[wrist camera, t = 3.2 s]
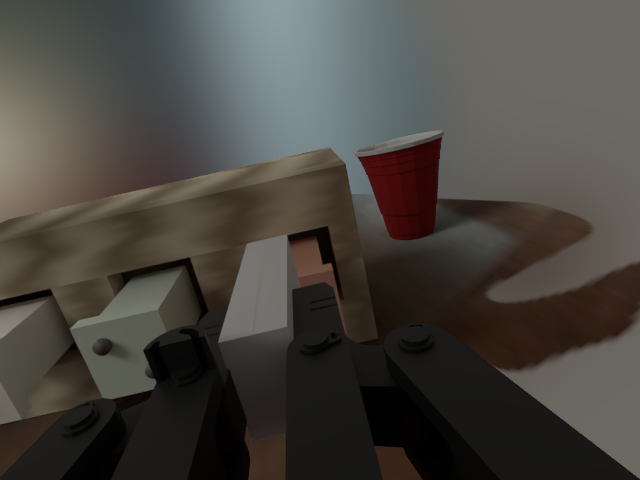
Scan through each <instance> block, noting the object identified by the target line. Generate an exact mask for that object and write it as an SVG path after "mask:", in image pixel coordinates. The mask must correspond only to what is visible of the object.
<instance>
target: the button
mask: <svg viewBox="0 0 640 480" xmlns="http://www.w3.org/2000/svg"><path fill="white" fill-rule="evenodd" d="M74 341H75V340H74V338H73V336H72V333H71V331H70V327H69V325H68V323H67V321H66V319H65V317H64V315H63V313H62V311H61V309H60V307H59V305H58V303H57V301H56V299H55V297H54V295H50V296H46V297H41V298H37V299H33V300H28V301H24V302H19V303H15V304H11V305H6V306H2V307H0V424H3V423H8V422H12V421H17V420H21V419H23V417H24V416H25V415H26V414H27V413H28V411H29V410H30V409H31V408H32V407H31V405H30V403H29V401H28V400H27V398H26V396H27V395H28V393H29V392H30V391H31V390H32V389H33V388H34V387H35V386H36V384H37V383H38V382H39V381H40V380H41V379H42V378H43V376H44V375H45V374H46V373H47V372H48V371H49V370H50V369H51V367H52V366H53V365H54V364H55V363H56V362H57V361H58V360H59V358H60V357H61V356H62V355H63V354H64V353H65V352H66V350H67V349H68V348H69V347H70V346H71V345H72V344H73V343H74Z"/></svg>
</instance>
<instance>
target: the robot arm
mask: <svg viewBox="0 0 640 480" xmlns="http://www.w3.org/2000/svg"><path fill="white" fill-rule="evenodd" d="M143 352H144V354H145V357H146V359H147V361H148V364H149V366H150V368H151V371H152V373H153V375H154V378H155V380H156V385H155V387H154V389H153V391H152V393H151V395H150V398H149V399H148V400H146V401H144V402H142V403H139V404H137V405H135V406H133V407H130V408H128V409H126V410H123V411H121V412H120V411H119V409H118V407H117V405H116V403H115V402H114V401H113V400H112V399H107V398H100V399H95V400H90V401H87V402H84V404H83V403H82V404H80V405H78V406H76V407H74V408H73V409H72V410H70V411H69V412H67V413H66V414H64V415H63V416H62V417H61V418H59V419H58V420H57V421H56V422H55V423H54V424H53V425H52V426H51V427H50V428H49V429H48V430H47V431H46V432H45V433H44V434H43V435H42V436H41V437H40V438H39V439H38V440H37V441H36V442H35V443H34V444H33V445H32V446H31V447H30V448H29V449H28V450H27V451H26V452H25V453H24V454H23V455H22V456H21V457H20V458H19V459H18V460H17V461H16V462H15V463H14V464H13V465H12V466H11V467H10V468H9V469H8V470H7V471H6V472H5V473H4V474H3V475H2V476H1V477H0V480H248V477H249V467H250V456H249V451H248V448H247V445H246V443H245V440H244V439H245V431H246V424H247V427H248V430H249V433H250V436H251V438H252V441H257V440H261V439H265V438H269V437H274V436H278V435H282V434H286V480H383V478H382V474H381V471H380V467H379V463H378V459H377V455H376V451H375V447H374V446H387V447H403V448H404V451H405V453H406V456H407V457H408V459H409V460H410V462H411V463H412V465H413V466H414V467H415V469H416V470H417V472H418V473H419V475H420V476H421V478H422V479H423V480H640V479H639V478H637V477H636V476H635V475H634V474H632V473H631V472H630V471H629V470H627V469H626V468H625V467H623V466H622V465H621V464H619V463H618V462H617V461H616V460H614V459H613V458H611V457H610V456H609V455H608V454H606V453H605V452H604V451H602V450H601V449H600V448H599V447H597V446H596V445H595V444H593V443H592V442H591V441H589V440H588V439H587V438H586V437H584V436H583V435H582V434H580V433H579V432H578V431H576V430H575V429H574V428H572V427H571V426H570V425H569V424H567V423H566V422H565V421H563V420H562V419H561V418H560V417H558V416H557V415H556V414H554V413H553V412H552V411H550V410H549V409H548V408H546V407H545V406H544V405H543V404H541V403H540V402H539V401H537V400H536V399H535V398H534V397H532V396H531V395H530V394H528V393H527V392H526V391H524V390H523V389H522V388H520V387H519V386H518V385H517V384H515V383H514V382H513V381H511V380H510V379H509V378H507V377H506V376H505V375H504V374H502V373H501V372H500V371H498V370H497V369H496V368H495V367H493V366H492V365H491V364H489V363H488V362H487V361H485V360H484V359H483V358H481V357H480V356H479V355H478V354H476V353H475V352H474V351H472V350H471V349H470V348H468V347H467V346H466V345H465V344H463V343H462V342H461V341H459V340H458V339H457V338H455V337H454V336H453V335H452V334H450V333H449V332H448V331H446V330H445V329H443V328H441V327H439V326H437V325H435V324H429V323H424V322H423V323H421V322H417V323H409V324H406V325H402V326H399V327H397V328H395V329H393V330H392V331H390V332H389V333H388V334H387V336H386V337H385V338H384V342H383V345H364V344H359V343H356V342H354V341H352V340H351V339H349V338H348V337H347V335H346V333H345V331H344V327H343V323H342V320H341V316H340V312H339V308H338V304H337V300H336V296H335V292H334V288H333V287H332V286H330V285H329V284H327V283H326V282H322V283H318V284H313V285H309V286H305V287H301V286H300V282H299V279H298V275H297V271H296V267H295V263H294V259H293V256H292V252H291V248H290V244H289V240H288V236H287V234H286V235H282V236H277V237H273V238H269V239H265V240H260V241H256V242H252V243H247V245H246V249H245V252H244V256H243V259H242V262H241V266H240V269H239V273H238V276H237V279H236V283H235V286H234V290H233V293H232V296H231V300H230V303H229V306H225V307H221V308H217V309H213V310H210V311H209V312H208V313H207V314H206V315H205V316H204V317H203V318H202V319H201V320H200V321H199V323H198V326H195V325H190V326H183V327H179V328H176V329H173V330H170V331H168V332H166V333H164V334H162V335H160V336H158V337H157V338H155V339H154V340H153V341H151V342H150V343H149V344H148V345H147V346H146V347H145V348H144V350H143Z"/></svg>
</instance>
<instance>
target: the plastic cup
mask: <svg viewBox="0 0 640 480" xmlns="http://www.w3.org/2000/svg"><path fill="white" fill-rule="evenodd" d="M443 135H444V131H442V130H438V131H430V132H425V133H419V134H414V135H410V136H405V137H401V138H397V139H393V140H389V141H385V142H381V143H378V144H375V145H371V146H368V147H365V148H362V149H359V150H357V151H355V152H354V154H355V156H356V157H358V159H359V160H360V161H361V163H362V166H363V167H364V169H365V172H366V174H367V175H368V178H369V181H370V183H371V186H372V189H373V192H374V195H375V198H376V201H377V203H378V206H379V209H380V212H381V214H382V215H383V218H384V221H385V225H386V228H387V231H388V232H389V234H390V237H392V238H394V239H400V240H410V239H416V238H421V237H424V236H427V235H428V234H430V233H432V232H433V230H434V225H435V217H436V204H437V192H438V191H437V190H438V170H439V168H438V167H439V159H440V149H441V139H442V136H443Z"/></svg>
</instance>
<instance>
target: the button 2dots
mask: <svg viewBox="0 0 640 480" xmlns="http://www.w3.org/2000/svg"><path fill="white" fill-rule="evenodd" d="M200 314H201V308H200V305H199V302H198V299H197V296H196V294H195V291H194V288H193V285H192V282H191V279H190V276H189V274H188V271H187V268H186V265H183V266H178V267H174V268H170V269H165V270H161V271H156V272H152V273H148V274H143V275H139V276H134V277H132V279H131V280H130V281H129V282H128V283H127V284H126V285H125V287H124V288H123V289H122V290H121V291H120V292H119V293H118V295H117V296H116V297H115V298H114V299H113V300H112V301H111V303H110V304H109V305H108V306H107V307H106V308H105V309H104V311H103V312H102V313H101V314H100V315H99V316H95V317H91V318H86V319H82V320H78V321H77V322H76V323H75V324H74V325H73V326H72V327H71V329H70V331H71V333H72V336H73V338H74V340H75V342H76V344H77V346H78V348H79V350H80V352H81V354H82V356H83V358H84V360H85V362H86V364H87V366H88V368H89V370H90V373H91V375H92V377H93V379H94V381H95V383H96V385H97V387H98V389H99V391H100V393H101V395H102V397H103V398H107V399H113V398H117V397H122V396H126V395H130V394H135V393H139V392H144V391H148V390H152V389H154V387H155V385H156V380H155V378H154V375H153V373H152V371H151V368H150V366H149V364H148V361H147V359H146V357H145V354H144V352H143V350H144V348H145V347H146V346H147V345H148V344H149V343H150V342H151V341H153V340H154V339H155V338H157V337H158V336H160V335H162V334H164V333H166V332H168V331H170V330H173V329H176V328H179V327H183V326H190V325H195V326H196V324H197V321H198V319H199V316H200Z"/></svg>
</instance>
